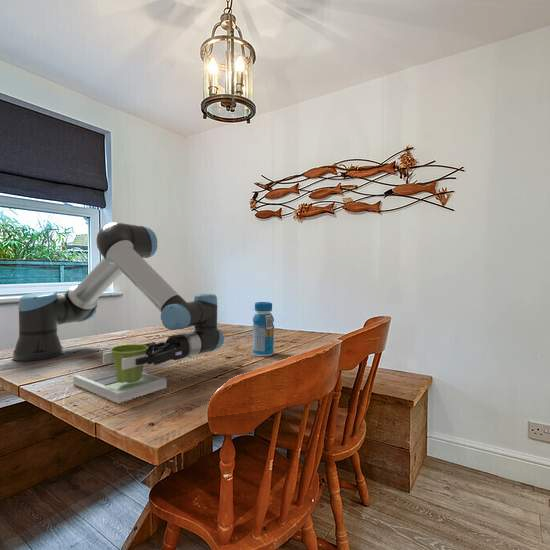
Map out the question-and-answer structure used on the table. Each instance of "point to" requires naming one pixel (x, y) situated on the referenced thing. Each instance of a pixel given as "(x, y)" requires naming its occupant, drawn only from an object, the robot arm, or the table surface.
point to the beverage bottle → (263, 329)
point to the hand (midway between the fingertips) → (112, 361)
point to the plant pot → (124, 352)
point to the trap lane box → (120, 386)
